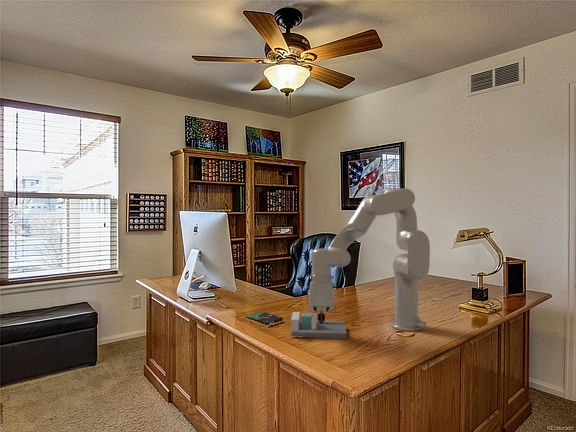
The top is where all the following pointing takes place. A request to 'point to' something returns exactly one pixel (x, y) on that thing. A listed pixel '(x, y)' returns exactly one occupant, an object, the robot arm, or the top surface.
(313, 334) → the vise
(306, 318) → the teal block
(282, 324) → the top surface
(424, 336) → the top surface
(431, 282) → the top surface
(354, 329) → the top surface
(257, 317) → the disk drive
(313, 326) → the block
